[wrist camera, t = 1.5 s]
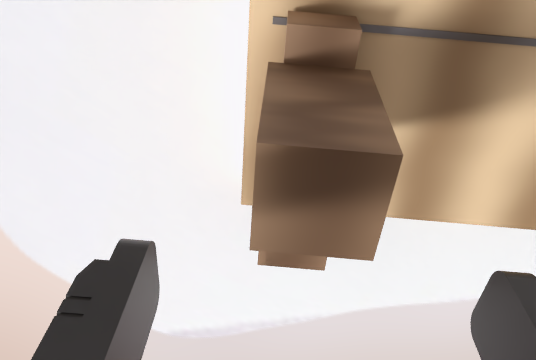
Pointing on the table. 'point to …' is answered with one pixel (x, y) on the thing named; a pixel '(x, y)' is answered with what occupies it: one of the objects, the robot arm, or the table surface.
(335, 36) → the marking gauge
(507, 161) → the oak board
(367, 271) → the table surface
